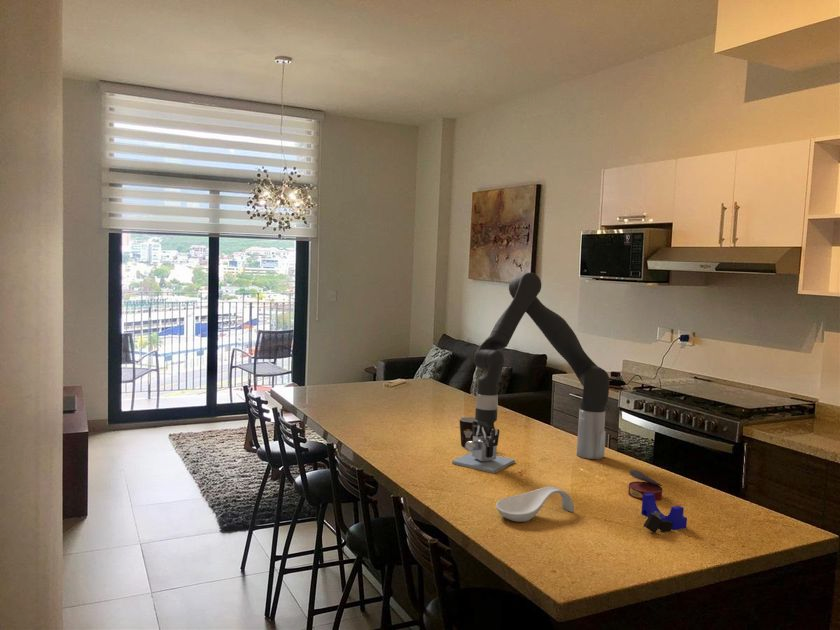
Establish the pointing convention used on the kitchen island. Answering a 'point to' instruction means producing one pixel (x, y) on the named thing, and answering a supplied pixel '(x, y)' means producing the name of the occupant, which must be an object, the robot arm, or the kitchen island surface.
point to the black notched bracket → (657, 523)
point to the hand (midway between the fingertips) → (484, 454)
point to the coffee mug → (466, 429)
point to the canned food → (644, 486)
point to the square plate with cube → (483, 463)
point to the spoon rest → (530, 503)
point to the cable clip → (673, 516)
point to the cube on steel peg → (480, 448)
